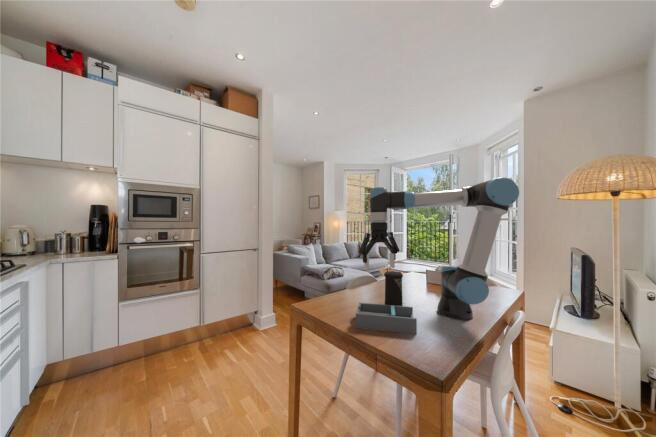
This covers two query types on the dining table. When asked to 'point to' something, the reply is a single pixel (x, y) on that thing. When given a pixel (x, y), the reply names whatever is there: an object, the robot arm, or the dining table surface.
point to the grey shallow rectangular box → (386, 318)
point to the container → (393, 288)
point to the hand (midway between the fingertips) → (379, 268)
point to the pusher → (383, 314)
